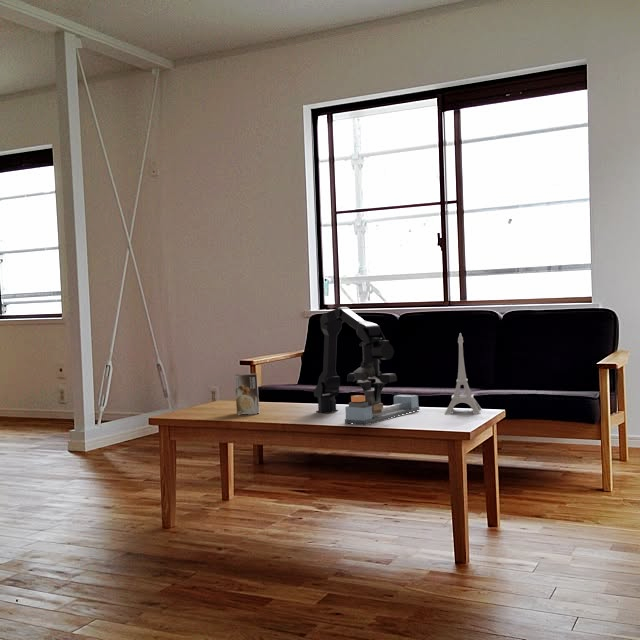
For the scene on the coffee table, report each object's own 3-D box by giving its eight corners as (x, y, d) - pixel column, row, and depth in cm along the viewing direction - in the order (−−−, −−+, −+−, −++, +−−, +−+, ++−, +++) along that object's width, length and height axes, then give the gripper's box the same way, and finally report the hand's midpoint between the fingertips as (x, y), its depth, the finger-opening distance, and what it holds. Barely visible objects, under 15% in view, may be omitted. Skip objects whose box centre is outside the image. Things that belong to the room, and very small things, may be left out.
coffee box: (259, 412, 322) (258, 372, 322) (259, 414, 316) (257, 374, 315) (237, 413, 322) (235, 373, 322) (236, 415, 315) (234, 375, 315)
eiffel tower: (446, 409, 307) (444, 333, 307) (481, 409, 304) (478, 332, 304) (444, 414, 294) (441, 334, 294) (480, 414, 291) (477, 333, 291)
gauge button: (351, 401, 281) (351, 396, 281) (357, 400, 284) (356, 395, 284) (359, 402, 279) (359, 396, 279) (365, 401, 282) (365, 395, 282)
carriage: (362, 414, 288) (361, 390, 288) (372, 411, 292) (371, 389, 292) (374, 414, 285) (373, 391, 284) (383, 412, 289) (382, 389, 289)
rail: (344, 423, 282) (344, 402, 282) (399, 409, 311) (399, 390, 311) (365, 424, 277) (364, 403, 277) (419, 410, 306) (418, 391, 306)
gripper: (337, 360, 287) (339, 402, 288) (380, 360, 276) (381, 405, 276) (354, 357, 296) (356, 399, 297) (397, 358, 285) (398, 401, 285)
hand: (372, 401), depth 288 cm, fingers closed on carriage, 3 cm apart
